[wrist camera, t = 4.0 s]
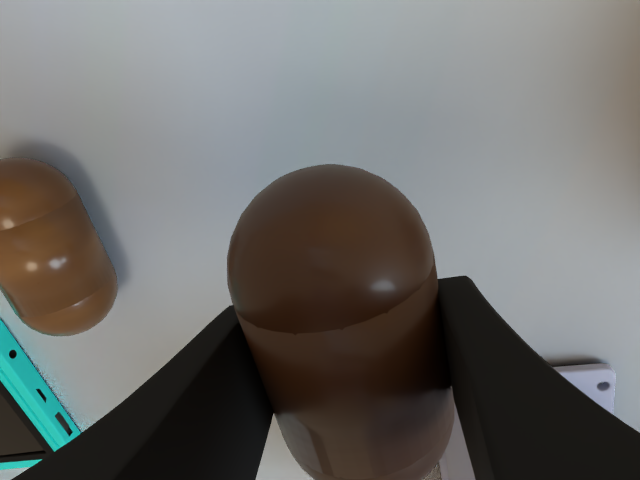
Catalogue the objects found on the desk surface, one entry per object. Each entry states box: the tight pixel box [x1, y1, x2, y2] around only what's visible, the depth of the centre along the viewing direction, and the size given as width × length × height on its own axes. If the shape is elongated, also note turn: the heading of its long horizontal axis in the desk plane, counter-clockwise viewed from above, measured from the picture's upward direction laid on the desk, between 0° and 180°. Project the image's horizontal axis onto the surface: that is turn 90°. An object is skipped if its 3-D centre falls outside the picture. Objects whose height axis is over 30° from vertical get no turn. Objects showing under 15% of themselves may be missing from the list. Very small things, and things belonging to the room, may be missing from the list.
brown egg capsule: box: [0, 158, 118, 336], centre depth 19 cm, size 8×4×4 cm, turn 13°
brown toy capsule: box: [227, 164, 455, 480], centre depth 10 cm, size 8×4×4 cm, turn 13°
